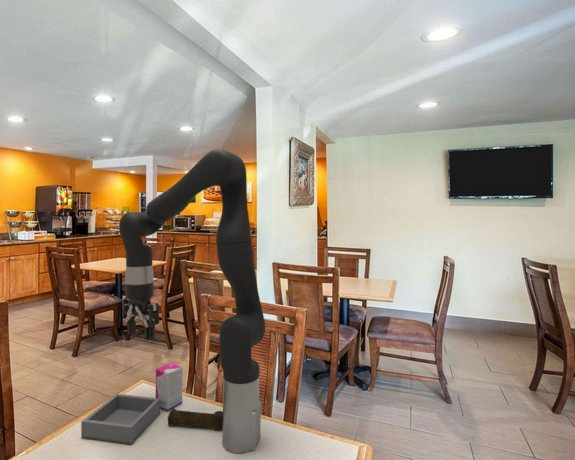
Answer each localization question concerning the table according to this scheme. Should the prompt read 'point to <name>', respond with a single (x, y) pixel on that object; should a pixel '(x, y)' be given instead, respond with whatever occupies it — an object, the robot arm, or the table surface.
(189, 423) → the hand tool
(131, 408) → the bin
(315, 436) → the table surface
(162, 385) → the supplement box
